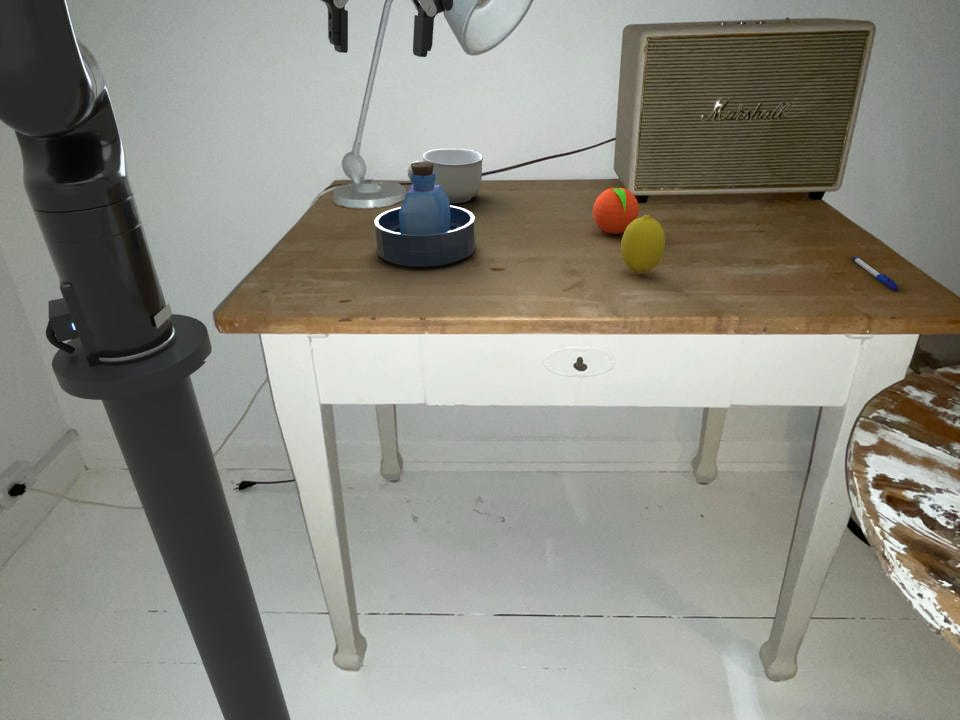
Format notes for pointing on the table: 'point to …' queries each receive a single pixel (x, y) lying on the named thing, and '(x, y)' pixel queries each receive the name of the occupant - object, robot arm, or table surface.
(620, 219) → the clementine
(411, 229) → the perfume bottle
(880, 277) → the blue and white marker
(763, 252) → the table surface
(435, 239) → the bowl
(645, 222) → the lemon
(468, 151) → the teacup
